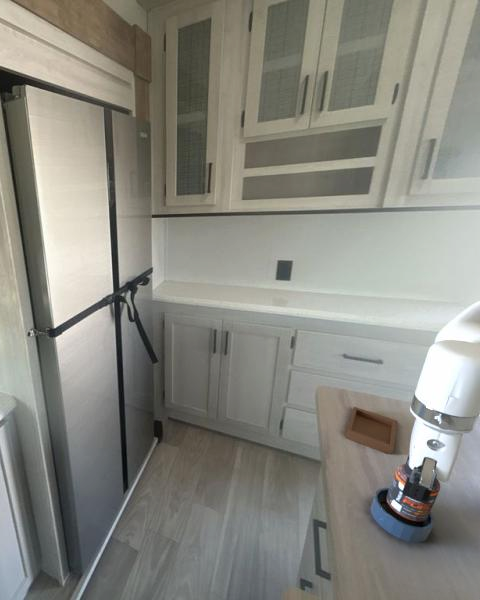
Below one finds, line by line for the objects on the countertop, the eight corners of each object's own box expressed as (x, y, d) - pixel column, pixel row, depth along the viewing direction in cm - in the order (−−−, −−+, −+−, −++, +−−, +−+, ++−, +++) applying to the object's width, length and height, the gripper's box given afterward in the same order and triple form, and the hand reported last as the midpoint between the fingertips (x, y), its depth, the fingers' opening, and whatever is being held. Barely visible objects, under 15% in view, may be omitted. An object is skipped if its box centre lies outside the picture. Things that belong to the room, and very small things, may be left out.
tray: (352, 413, 94) (353, 406, 93) (395, 427, 88) (397, 420, 87) (345, 437, 87) (347, 430, 86) (391, 455, 81) (394, 447, 80)
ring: (406, 506, 69) (413, 490, 68) (437, 549, 62) (446, 532, 60) (360, 502, 71) (365, 485, 69) (385, 542, 64) (392, 525, 62)
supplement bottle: (397, 520, 63) (412, 478, 59) (379, 492, 68) (392, 452, 64) (435, 525, 61) (454, 483, 57) (414, 496, 67) (430, 455, 62)
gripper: (481, 454, 48) (444, 534, 54) (472, 391, 59) (442, 465, 65) (409, 431, 53) (383, 507, 60) (413, 377, 64) (391, 447, 70)
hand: (414, 484), depth 62 cm, fingers closed on supplement bottle, 6 cm apart
